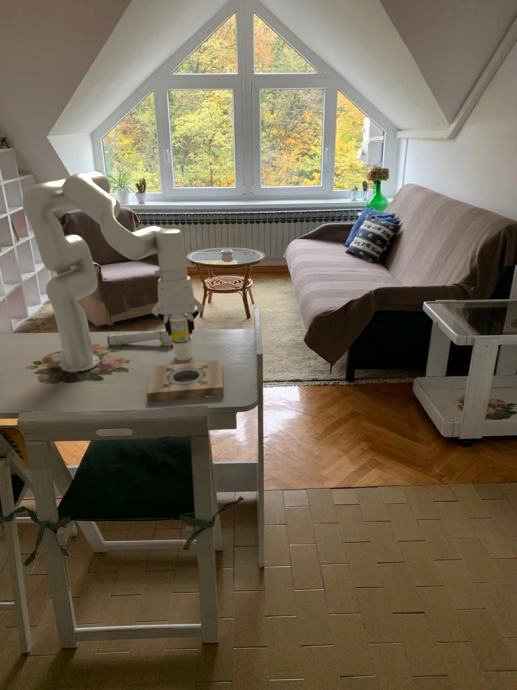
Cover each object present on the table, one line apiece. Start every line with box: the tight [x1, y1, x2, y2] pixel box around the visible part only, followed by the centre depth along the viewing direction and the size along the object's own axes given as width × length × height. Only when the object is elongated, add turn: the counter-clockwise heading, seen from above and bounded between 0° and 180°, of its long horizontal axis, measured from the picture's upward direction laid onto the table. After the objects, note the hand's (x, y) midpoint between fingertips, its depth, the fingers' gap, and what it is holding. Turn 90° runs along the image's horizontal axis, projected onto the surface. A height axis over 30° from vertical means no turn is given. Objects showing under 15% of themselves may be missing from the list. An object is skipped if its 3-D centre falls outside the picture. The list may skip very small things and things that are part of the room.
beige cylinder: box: [172, 334, 193, 361], centre depth 187 cm, size 7×7×7 cm
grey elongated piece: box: [106, 328, 173, 347], centre depth 199 cm, size 5×7×25 cm
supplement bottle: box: [168, 313, 191, 345], centre depth 161 cm, size 6×6×10 cm
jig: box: [146, 360, 224, 403], centre depth 168 cm, size 22×18×3 cm
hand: (180, 332), depth 162 cm, fingers closed on supplement bottle, 5 cm apart
